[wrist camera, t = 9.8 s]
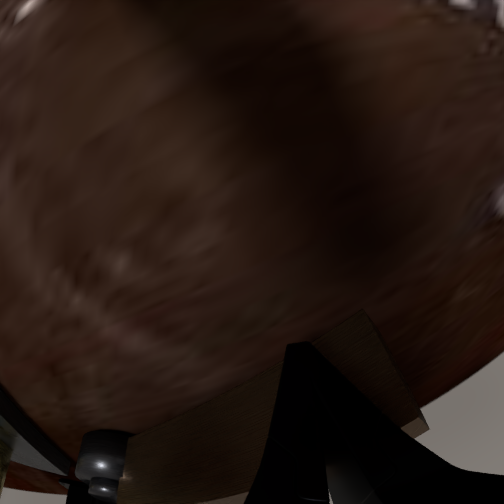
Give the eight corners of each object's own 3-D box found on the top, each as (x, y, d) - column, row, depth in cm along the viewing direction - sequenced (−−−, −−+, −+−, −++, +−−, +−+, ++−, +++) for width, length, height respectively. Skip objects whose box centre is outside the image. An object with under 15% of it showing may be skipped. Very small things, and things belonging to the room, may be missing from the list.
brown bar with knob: (130, 468, 17) (124, 527, 13) (71, 439, 15) (57, 503, 11) (391, 346, 13) (438, 438, 8) (340, 280, 11) (402, 399, 6)
